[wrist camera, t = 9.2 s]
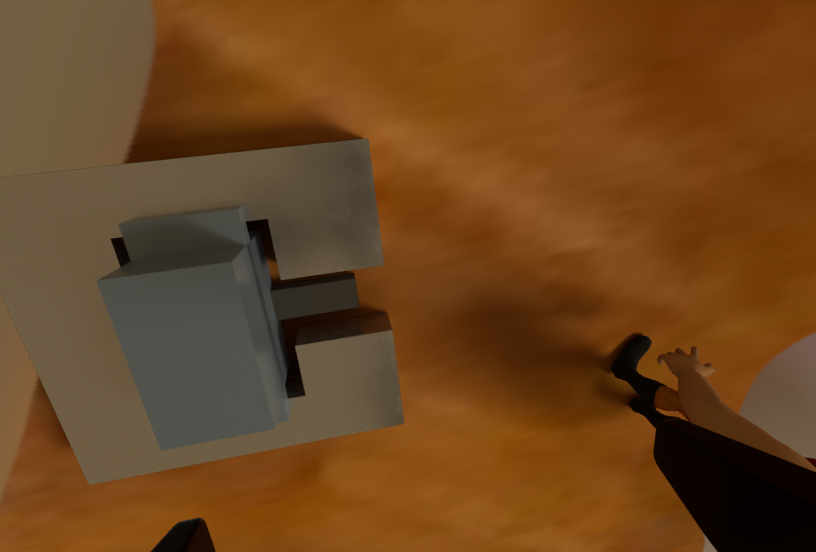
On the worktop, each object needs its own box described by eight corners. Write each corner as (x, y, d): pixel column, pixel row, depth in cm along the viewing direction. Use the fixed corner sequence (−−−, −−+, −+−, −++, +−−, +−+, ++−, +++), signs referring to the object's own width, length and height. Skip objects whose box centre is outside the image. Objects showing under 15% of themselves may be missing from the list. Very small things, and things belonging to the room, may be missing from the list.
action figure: (689, 412, 25) (1140, 759, 11) (639, 444, 25) (1023, 826, 11) (637, 297, 22) (1188, 580, 8) (581, 334, 22) (1019, 678, 8)
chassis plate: (364, 138, 17) (368, 138, 15) (398, 398, 21) (404, 423, 19) (-4, 177, 15) (-51, 182, 13) (112, 451, 20) (89, 484, 18)
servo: (340, 188, 18) (341, 204, 13) (369, 371, 21) (378, 438, 16) (153, 211, 17) (79, 237, 12) (211, 399, 20) (171, 479, 15)
